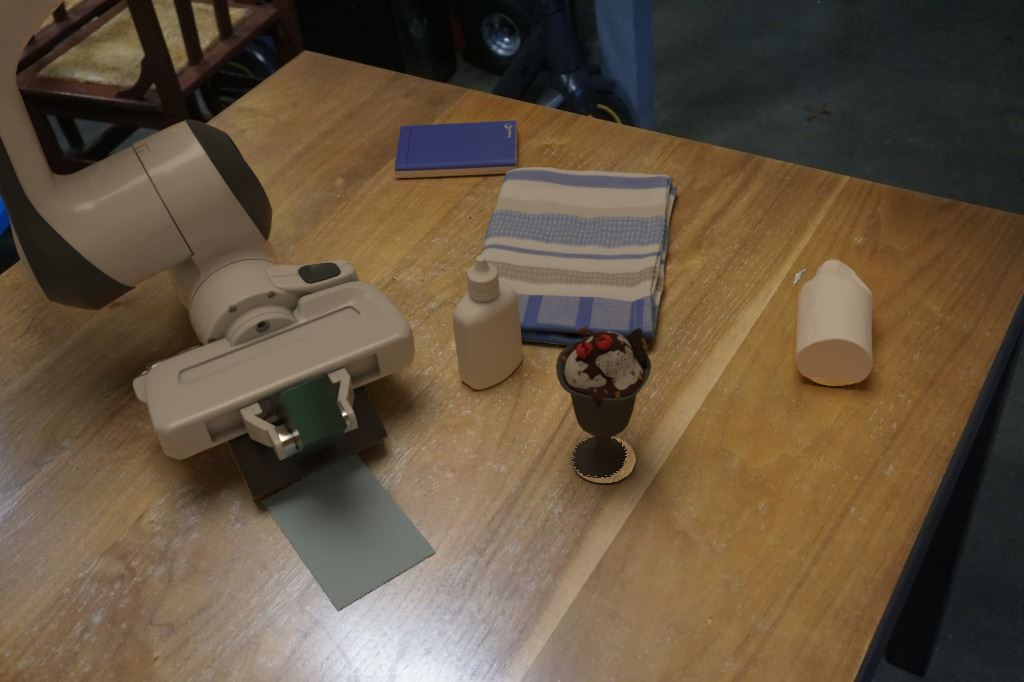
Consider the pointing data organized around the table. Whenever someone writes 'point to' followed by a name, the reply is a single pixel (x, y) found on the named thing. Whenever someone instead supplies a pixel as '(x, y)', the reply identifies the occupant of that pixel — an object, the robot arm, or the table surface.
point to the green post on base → (307, 437)
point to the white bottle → (834, 325)
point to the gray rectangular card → (347, 530)
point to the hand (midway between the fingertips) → (318, 438)
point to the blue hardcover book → (456, 149)
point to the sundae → (603, 394)
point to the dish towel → (581, 250)
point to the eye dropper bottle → (487, 328)
